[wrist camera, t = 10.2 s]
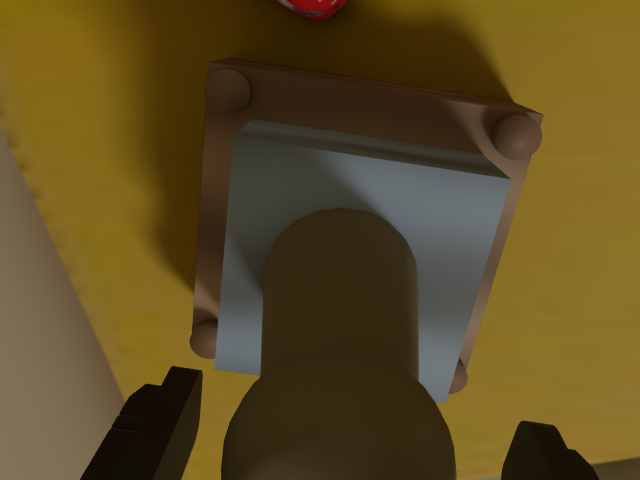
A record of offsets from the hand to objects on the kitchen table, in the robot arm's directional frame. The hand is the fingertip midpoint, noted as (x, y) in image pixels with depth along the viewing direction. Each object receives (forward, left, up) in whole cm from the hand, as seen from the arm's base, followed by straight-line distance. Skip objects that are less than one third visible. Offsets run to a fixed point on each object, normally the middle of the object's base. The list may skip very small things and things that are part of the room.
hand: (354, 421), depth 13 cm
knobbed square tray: (0, 0, -16) cm, 16 cm away
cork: (0, 0, -8) cm, 8 cm away
